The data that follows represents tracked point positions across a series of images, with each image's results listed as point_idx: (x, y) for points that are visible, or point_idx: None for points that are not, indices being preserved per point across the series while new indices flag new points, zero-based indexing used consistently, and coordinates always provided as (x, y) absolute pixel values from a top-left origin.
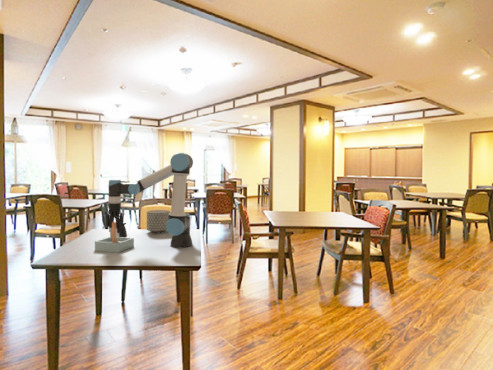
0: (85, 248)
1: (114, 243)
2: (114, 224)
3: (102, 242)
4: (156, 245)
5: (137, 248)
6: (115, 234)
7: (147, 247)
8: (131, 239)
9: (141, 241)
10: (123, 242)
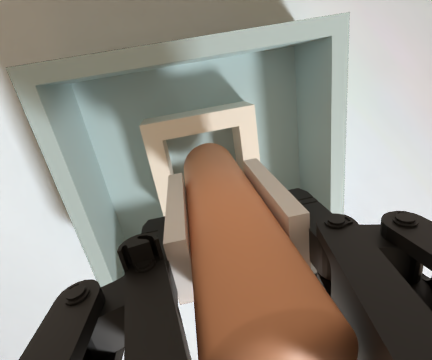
0: (413, 46)
1: (72, 57)
2: (220, 290)
3: (244, 29)
4: (19, 344)
5: (54, 237)
6: (190, 193)
7: (19, 287)
8: (96, 273)
9: (195, 352)
10: (48, 156)
